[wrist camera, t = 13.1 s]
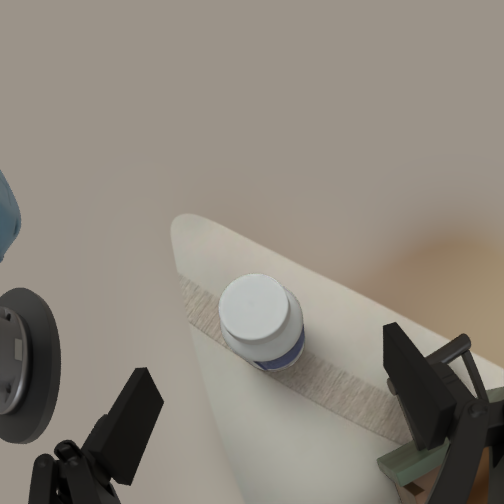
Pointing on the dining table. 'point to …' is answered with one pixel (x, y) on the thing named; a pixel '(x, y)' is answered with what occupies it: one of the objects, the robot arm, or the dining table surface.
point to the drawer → (429, 462)
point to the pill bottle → (262, 322)
